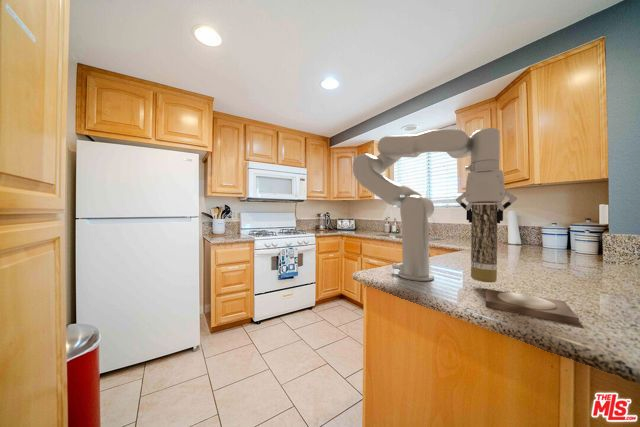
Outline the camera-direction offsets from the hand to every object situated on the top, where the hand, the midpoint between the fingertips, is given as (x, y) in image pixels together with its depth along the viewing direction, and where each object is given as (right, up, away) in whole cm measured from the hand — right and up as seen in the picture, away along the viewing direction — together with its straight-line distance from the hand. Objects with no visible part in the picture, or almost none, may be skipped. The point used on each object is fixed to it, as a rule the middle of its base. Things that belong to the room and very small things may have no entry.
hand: (484, 222), depth 72 cm
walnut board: (-1, -21, -15) cm, 26 cm away
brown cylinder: (0, -19, 0) cm, 19 cm away
